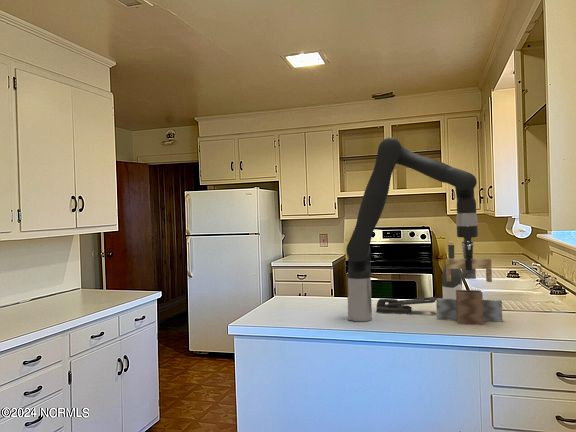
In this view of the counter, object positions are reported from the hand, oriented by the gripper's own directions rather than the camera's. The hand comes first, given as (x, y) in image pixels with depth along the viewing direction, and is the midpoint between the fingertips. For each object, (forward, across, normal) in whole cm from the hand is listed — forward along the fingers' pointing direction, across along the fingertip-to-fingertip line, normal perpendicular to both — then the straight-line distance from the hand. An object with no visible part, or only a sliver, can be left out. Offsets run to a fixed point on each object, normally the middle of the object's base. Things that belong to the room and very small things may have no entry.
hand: (468, 268), depth 172 cm
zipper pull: (+21, -14, -24) cm, 35 cm away
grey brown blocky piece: (+21, 0, 0) cm, 21 cm away
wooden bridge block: (+5, 0, 0) cm, 5 cm away
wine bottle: (+21, -19, -5) cm, 29 cm away
